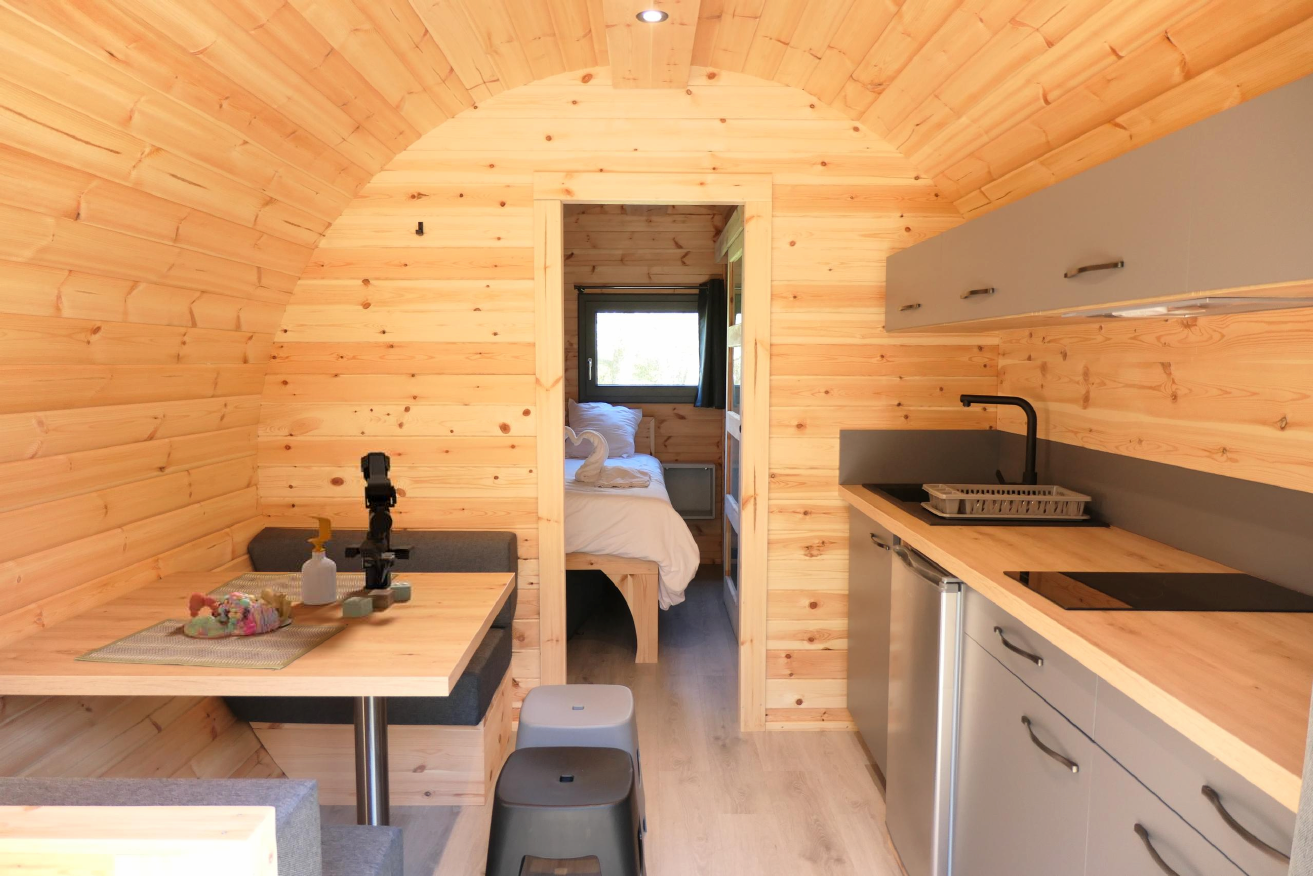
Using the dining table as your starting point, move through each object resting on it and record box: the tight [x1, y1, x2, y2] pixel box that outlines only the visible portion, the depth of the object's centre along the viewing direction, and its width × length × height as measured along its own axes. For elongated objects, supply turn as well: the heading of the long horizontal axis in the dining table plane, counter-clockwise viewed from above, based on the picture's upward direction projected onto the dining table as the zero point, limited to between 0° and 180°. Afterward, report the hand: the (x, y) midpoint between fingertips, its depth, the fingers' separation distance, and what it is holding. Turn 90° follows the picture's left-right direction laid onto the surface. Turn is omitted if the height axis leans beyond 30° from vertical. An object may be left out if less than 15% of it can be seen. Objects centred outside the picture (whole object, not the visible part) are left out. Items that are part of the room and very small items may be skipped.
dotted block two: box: [389, 581, 412, 601], centre depth 242 cm, size 6×6×4 cm
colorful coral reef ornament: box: [183, 588, 293, 639], centre depth 215 cm, size 25×24×9 cm
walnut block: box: [367, 589, 395, 610], centre depth 234 cm, size 6×6×4 cm
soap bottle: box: [301, 515, 338, 606], centre depth 237 cm, size 9×9×25 cm
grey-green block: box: [341, 596, 373, 619], centre depth 225 cm, size 6×6×4 cm
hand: (380, 582), depth 233 cm, fingers closed
